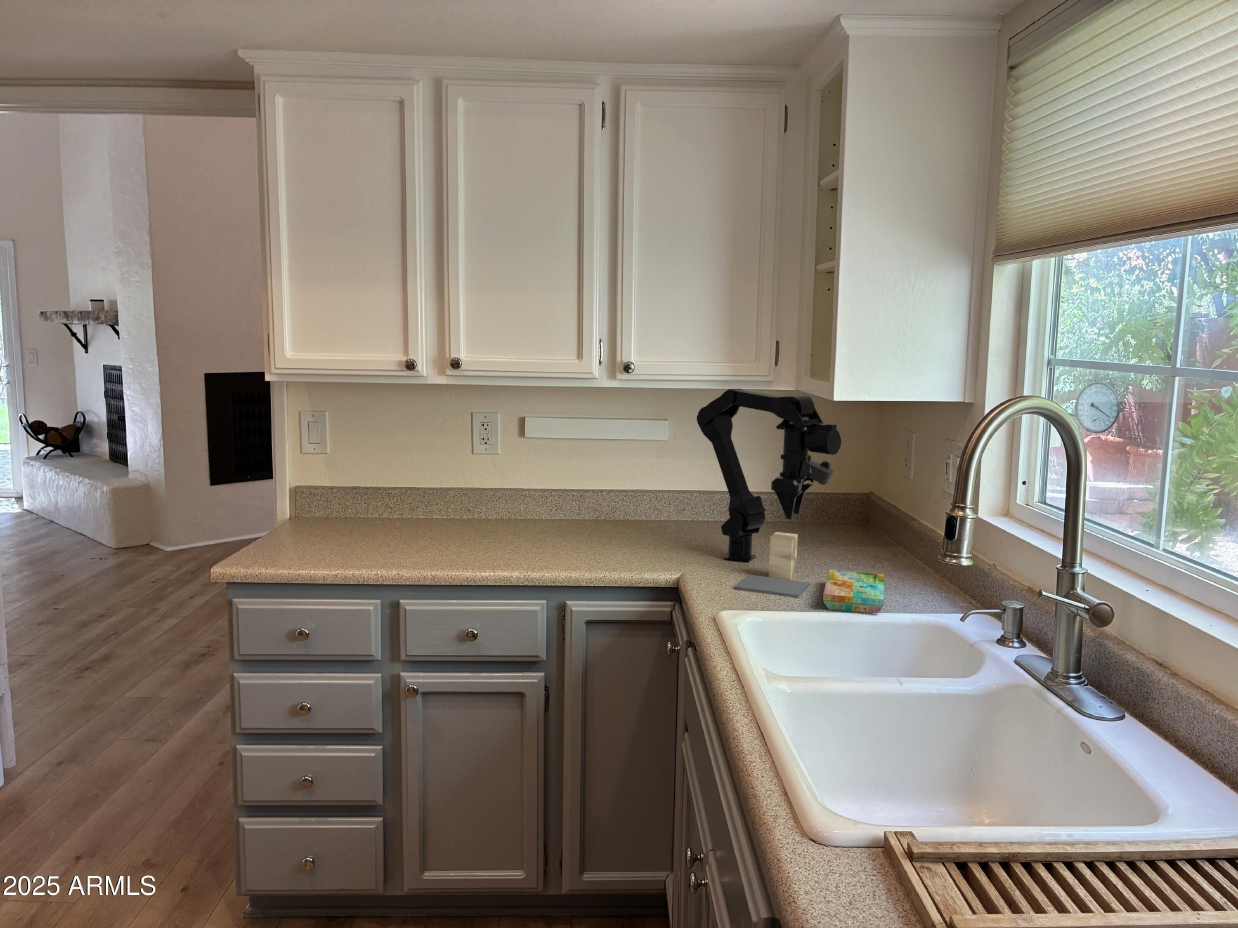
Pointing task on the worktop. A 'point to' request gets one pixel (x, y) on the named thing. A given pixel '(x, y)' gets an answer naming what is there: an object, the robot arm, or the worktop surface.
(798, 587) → the rubber mat
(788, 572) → the maple block
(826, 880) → the worktop surface
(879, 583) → the puzzle game
